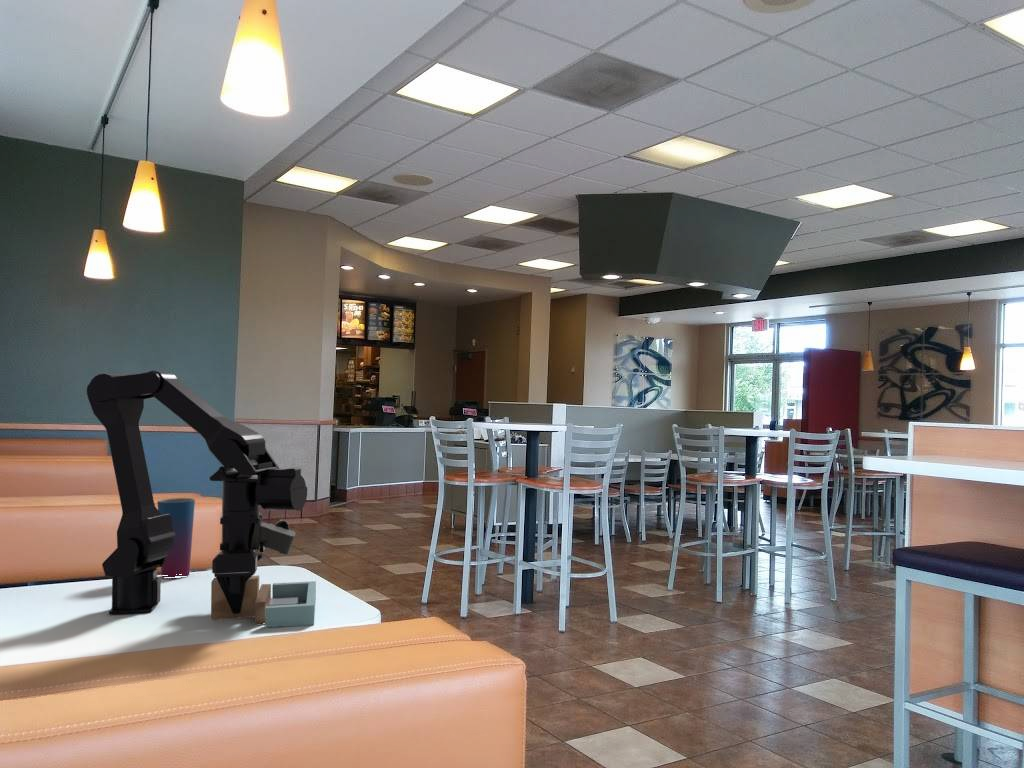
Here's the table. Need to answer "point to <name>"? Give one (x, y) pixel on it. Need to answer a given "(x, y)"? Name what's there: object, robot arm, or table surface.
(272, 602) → the tile slate
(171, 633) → the table surface
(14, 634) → the table surface
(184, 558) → the cup
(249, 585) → the scraper
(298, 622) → the teal corner frame
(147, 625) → the table surface
